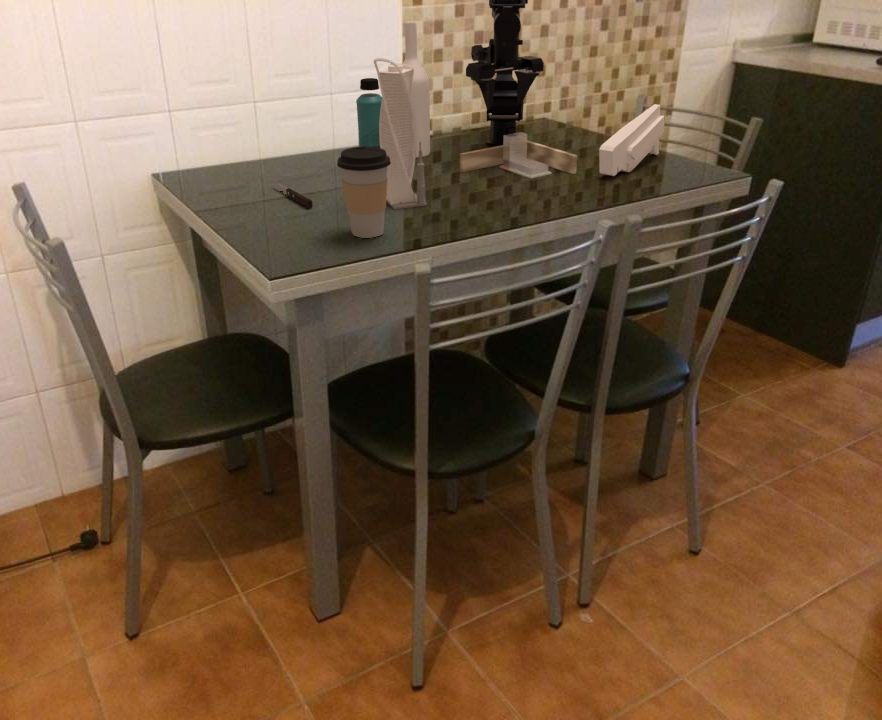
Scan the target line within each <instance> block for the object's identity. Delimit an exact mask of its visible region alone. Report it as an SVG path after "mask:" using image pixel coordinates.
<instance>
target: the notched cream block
mask: <svg viewBox="0 0 882 720" xmlns="http://www.w3.org/2000/svg"><path fill="white" fill-rule="evenodd" d="M664 132H665V115H661V104H657V103H655V104H653V105H651V106H650V107H649V108H647V109H646V110H644V111H643V112H642V113H640V114H639V115H637V116H636V117H635V118H634V119H632V120H631V121H629V122H628V123H627V124H626V125H624V126H622V127H621V128H620V129H619V130H618V131H616V132H615V133H614V134H613V135H612V136H611V137H609V138H608V139H607V140H606V141H604V143H602V144H601V145H600V147H599V149H598V150H599V151H598V153H599V155H598V156H599V160H598V162H599V173H600V174H602V175H606V176H612V177H615V176H616V175H617V174H618V173H619V172H625V173H630V172H632V171H633V170H634V169H636V167H637V166H638V165H639V164H640V163H641V162H642V161H643V159H644V158H646V156H647V155H648V154H650V155H652V154H654V155H653V156H658V155H657V154H659V152H660V151H659V149H660V137H661V135H663V133H664Z"/></svg>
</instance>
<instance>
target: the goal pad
mask: <svg viewBox="0 0 882 720" xmlns="http://www.w3.org/2000/svg"><path fill="white" fill-rule="evenodd" d="M499 168H500V169H502V170H506V171H508V172H512V173H514V174H516V175H519V176H523V177H524V178H528V179H535V178H540V177H541V178H542V177H545V176H549V175H552V171H549V170H548V172H547V173H542V174H538V175H533V176H530V175H527V174H524V173H521V172H519V171H516V170H513V169H510V168H507V167H504V166H503V164H501V165H500V166H499Z"/></svg>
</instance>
